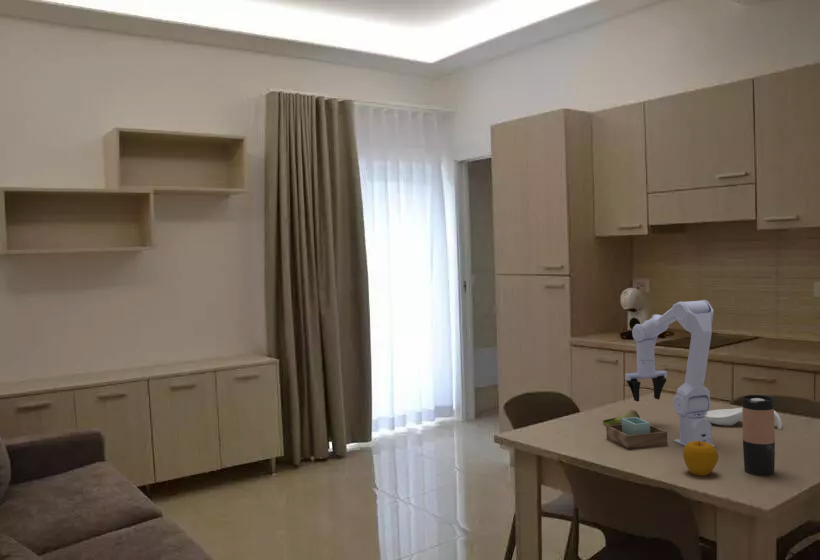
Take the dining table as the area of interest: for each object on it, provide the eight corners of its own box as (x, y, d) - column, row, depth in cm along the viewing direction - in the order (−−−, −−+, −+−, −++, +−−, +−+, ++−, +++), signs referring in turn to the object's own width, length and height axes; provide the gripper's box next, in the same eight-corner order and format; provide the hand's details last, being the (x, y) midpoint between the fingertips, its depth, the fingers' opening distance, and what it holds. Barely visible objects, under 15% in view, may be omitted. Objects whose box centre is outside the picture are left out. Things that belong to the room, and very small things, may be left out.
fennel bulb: (633, 415, 245) (601, 423, 243) (634, 405, 242) (601, 412, 241) (641, 426, 240) (608, 434, 239) (642, 415, 237) (608, 423, 236)
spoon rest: (701, 427, 235) (701, 405, 235) (705, 418, 245) (705, 398, 245) (781, 433, 224) (781, 411, 223) (782, 424, 234) (781, 403, 234)
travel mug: (765, 467, 191) (764, 394, 190) (781, 476, 183) (780, 400, 182) (738, 468, 191) (736, 395, 190) (752, 477, 183) (751, 401, 182)
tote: (636, 435, 223) (636, 417, 223) (650, 442, 215) (649, 422, 215) (622, 437, 222) (621, 418, 222) (635, 443, 214) (635, 424, 214)
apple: (723, 473, 187) (722, 440, 187) (710, 481, 181) (709, 447, 181) (691, 467, 194) (691, 435, 193) (678, 474, 188) (677, 442, 187)
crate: (667, 446, 214) (667, 431, 214) (628, 450, 211) (627, 436, 211) (644, 435, 227) (643, 421, 226) (606, 439, 224) (606, 425, 224)
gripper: (658, 356, 241) (659, 395, 241) (619, 359, 238) (621, 399, 238) (670, 359, 234) (671, 399, 234) (630, 362, 231) (632, 403, 231)
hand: (646, 399), depth 236 cm, fingers open, 7 cm apart
